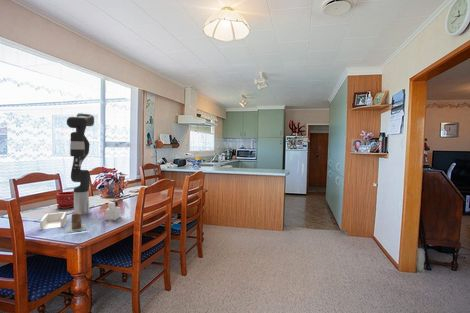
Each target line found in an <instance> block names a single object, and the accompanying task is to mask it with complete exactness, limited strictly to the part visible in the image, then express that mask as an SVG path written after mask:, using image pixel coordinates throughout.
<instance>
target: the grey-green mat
mask: <svg viewBox="0 0 470 313" xmlns="http://www.w3.org/2000/svg"><path fill="white" fill-rule="evenodd" d="M87 225H88V223H85V224H81V228H80V229H73V230H72V225H69V226H67V228H66V230H65V233H69V234H72V233H75V232H76V233H79V232H82V231H84V232H86V231H87V227H88V226H87Z"/></svg>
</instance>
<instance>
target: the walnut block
mask: <svg viewBox="0 0 470 313" xmlns="http://www.w3.org/2000/svg"><path fill="white" fill-rule="evenodd" d="M81 225H82V215H81V212H75V213H74V212H72V213H71V226H72V230H73V229H80V228H81Z"/></svg>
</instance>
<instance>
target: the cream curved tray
mask: <svg viewBox="0 0 470 313" xmlns="http://www.w3.org/2000/svg"><path fill="white" fill-rule="evenodd" d="M67 212H68V211H62V212H53V213H44V215H43V217H42V218H41V220H40V221H39V230H47V229H49V230H50V229H54V228H55V229H56V228H65V225H66V223H67V221H68V217H67V216H68V214H67Z"/></svg>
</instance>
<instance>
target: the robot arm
mask: <svg viewBox="0 0 470 313" xmlns="http://www.w3.org/2000/svg"><path fill="white" fill-rule="evenodd" d="M94 124H95V116H94V115H93V114H91V113H83V112H78V113H77V114H76V116H69V117H68V118H67V119H66V125H67V126H68V128H71V129H75V131H72V132H70V142H69V143H70V144H69V146H70V148H69V149H70V150H69V152H70V153H69V155H70V157H73V159H72V166H71V170H70V171H71V172H70V180H71V181H72V182H73V183H80V184H79V185H78V186H75V187H73V192H74V206H73V213H75V212H81V216H82V215H87V214H89V213H90V199H89V198H90V196H89V195H90V193H89V192H90V191H89V190H90V185H91V184H90V182H91V173H90V171H89V170H88V169H82V164H83V162H84V160H85V159H86V158H87V157H88V154H89V153H90V146H91V145H90V141H89V140H88V138H87V136H85V134H86V133H85V132H86V129H87V127H93V126H94Z"/></svg>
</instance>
